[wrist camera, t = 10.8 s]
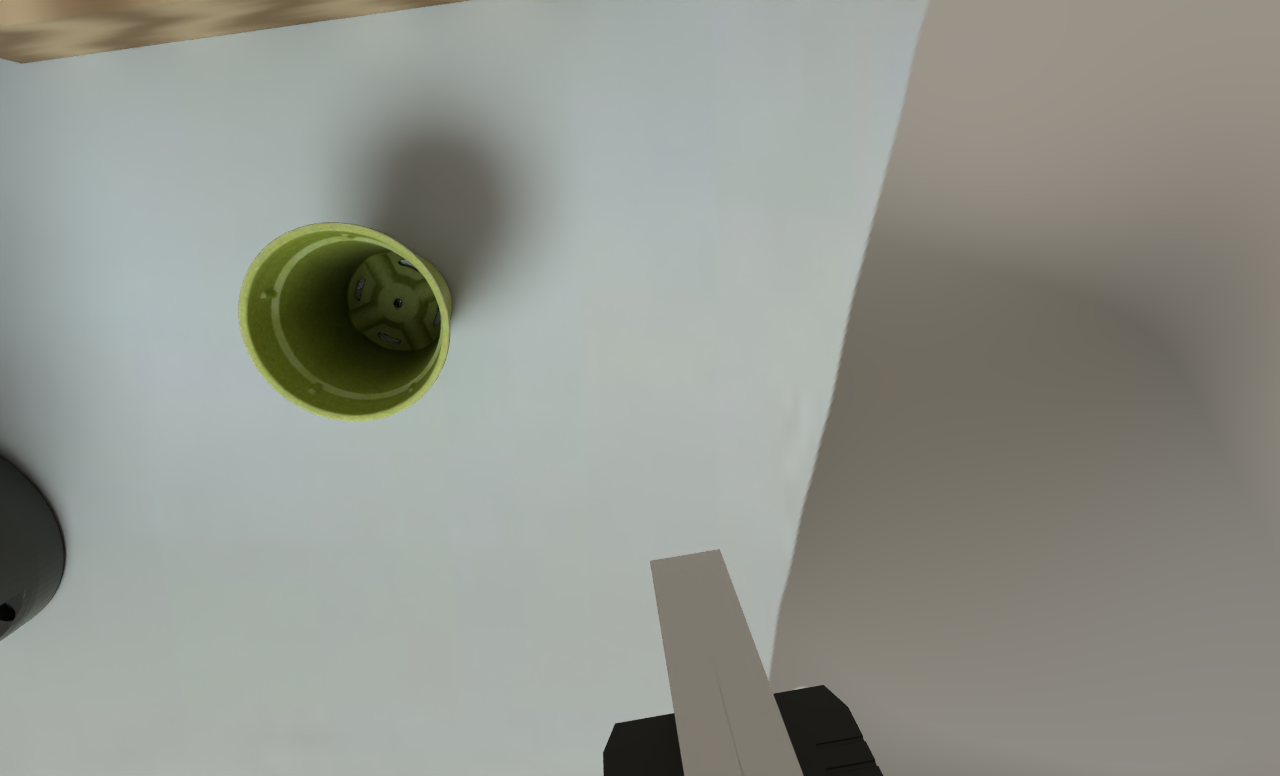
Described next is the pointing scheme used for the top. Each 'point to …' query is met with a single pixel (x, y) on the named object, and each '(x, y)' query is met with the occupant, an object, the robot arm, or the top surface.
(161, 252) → the top surface
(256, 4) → the wooden cubby shelf
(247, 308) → the plant pot
